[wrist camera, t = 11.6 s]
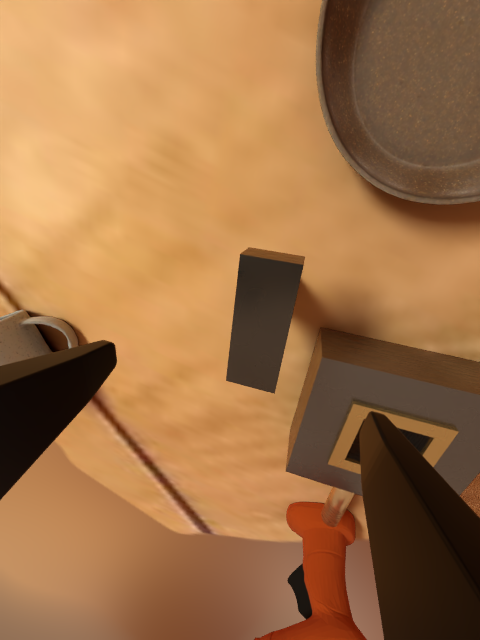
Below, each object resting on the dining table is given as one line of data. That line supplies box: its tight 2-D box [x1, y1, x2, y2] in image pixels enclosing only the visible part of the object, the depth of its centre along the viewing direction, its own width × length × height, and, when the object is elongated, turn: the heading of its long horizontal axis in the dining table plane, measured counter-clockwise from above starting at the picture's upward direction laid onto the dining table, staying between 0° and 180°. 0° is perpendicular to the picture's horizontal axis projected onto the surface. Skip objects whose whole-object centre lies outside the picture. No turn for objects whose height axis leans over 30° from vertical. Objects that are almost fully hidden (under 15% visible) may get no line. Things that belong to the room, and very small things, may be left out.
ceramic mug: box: [0, 310, 78, 366], centre depth 27 cm, size 11×8×8 cm
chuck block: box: [286, 328, 480, 527], centre depth 22 cm, size 12×20×5 cm, turn 173°
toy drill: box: [254, 502, 367, 640], centre depth 25 cm, size 5×19×15 cm, turn 109°
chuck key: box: [226, 247, 305, 394], centre depth 16 cm, size 3×7×8 cm, turn 174°
